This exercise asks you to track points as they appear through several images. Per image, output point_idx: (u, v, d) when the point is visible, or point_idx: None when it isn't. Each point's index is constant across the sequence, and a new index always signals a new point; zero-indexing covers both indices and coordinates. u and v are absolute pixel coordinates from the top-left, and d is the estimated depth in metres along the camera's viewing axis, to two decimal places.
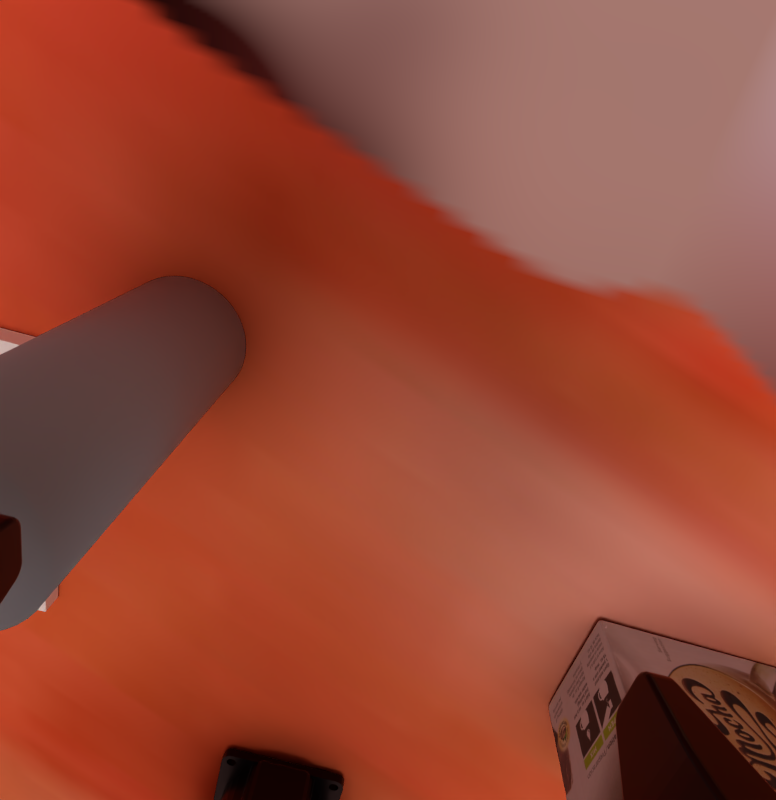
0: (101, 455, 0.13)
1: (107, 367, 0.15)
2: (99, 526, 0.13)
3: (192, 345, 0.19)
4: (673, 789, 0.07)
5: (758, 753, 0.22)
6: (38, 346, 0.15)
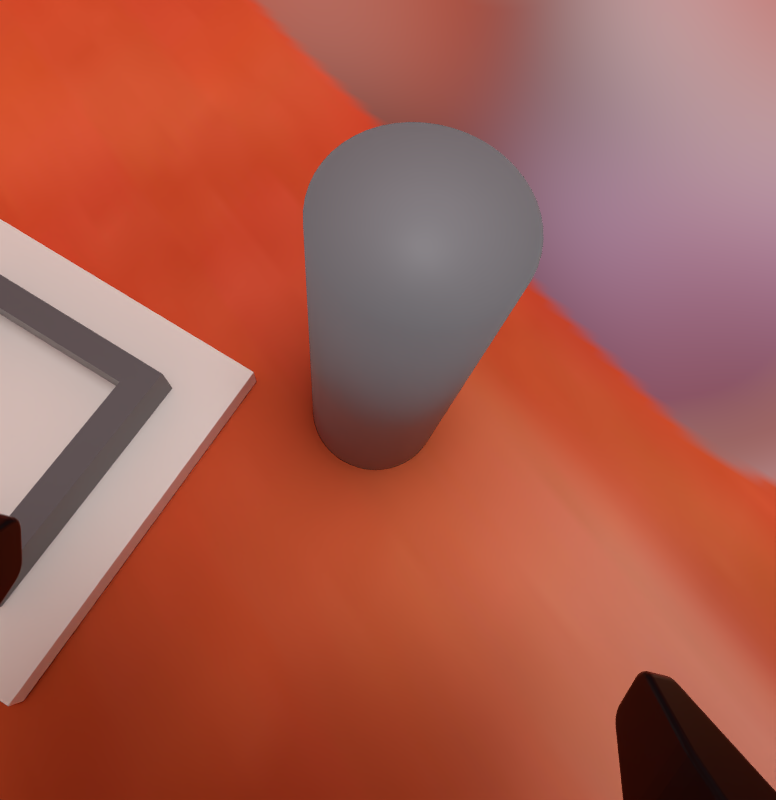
0: None
1: None
2: (498, 330, 0.13)
3: None
4: (673, 789, 0.07)
5: None
6: None
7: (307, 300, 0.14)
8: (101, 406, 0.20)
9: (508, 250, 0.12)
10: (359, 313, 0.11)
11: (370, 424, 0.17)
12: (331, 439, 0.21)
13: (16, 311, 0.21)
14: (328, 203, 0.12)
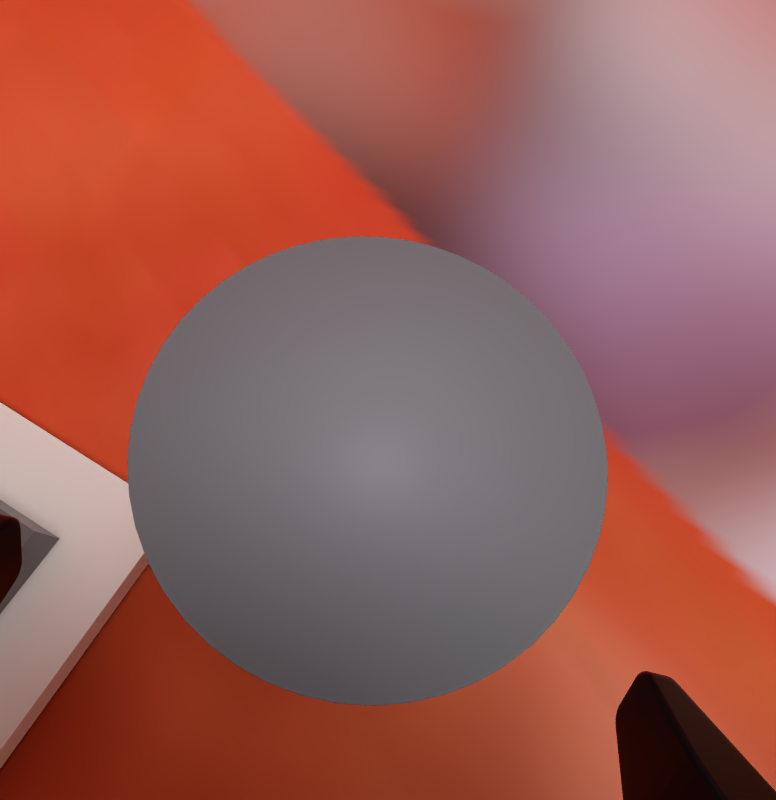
0: None
1: None
2: None
3: None
4: (673, 789, 0.07)
5: None
6: None
7: None
8: None
9: (539, 500, 0.06)
10: (233, 659, 0.05)
11: None
12: None
13: None
14: (183, 411, 0.06)
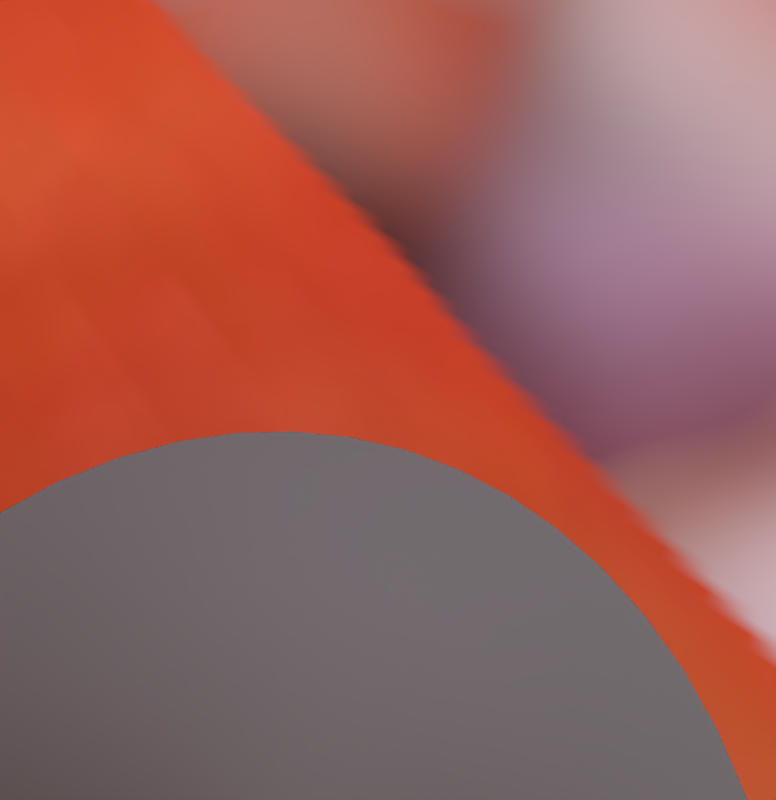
0: None
1: None
2: None
3: None
4: None
5: None
6: None
7: None
8: None
9: None
10: None
11: None
12: None
13: None
14: None
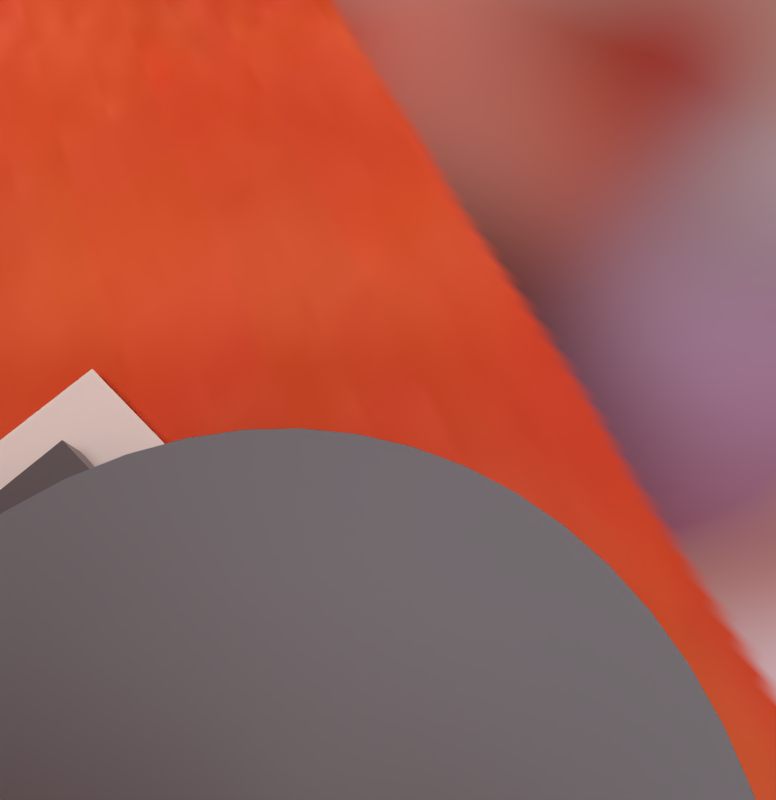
0: None
1: None
2: None
3: None
4: None
5: None
6: None
7: None
8: None
9: None
10: None
11: None
12: None
13: None
14: None
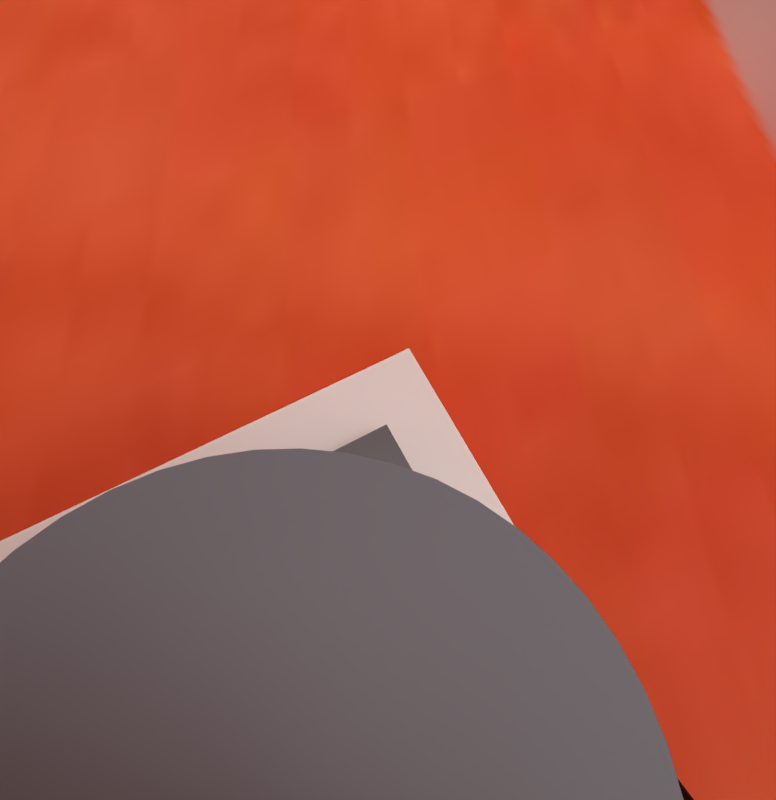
0: None
1: None
2: None
3: None
4: None
5: None
6: None
7: None
8: None
9: None
10: None
11: None
12: None
13: None
14: None
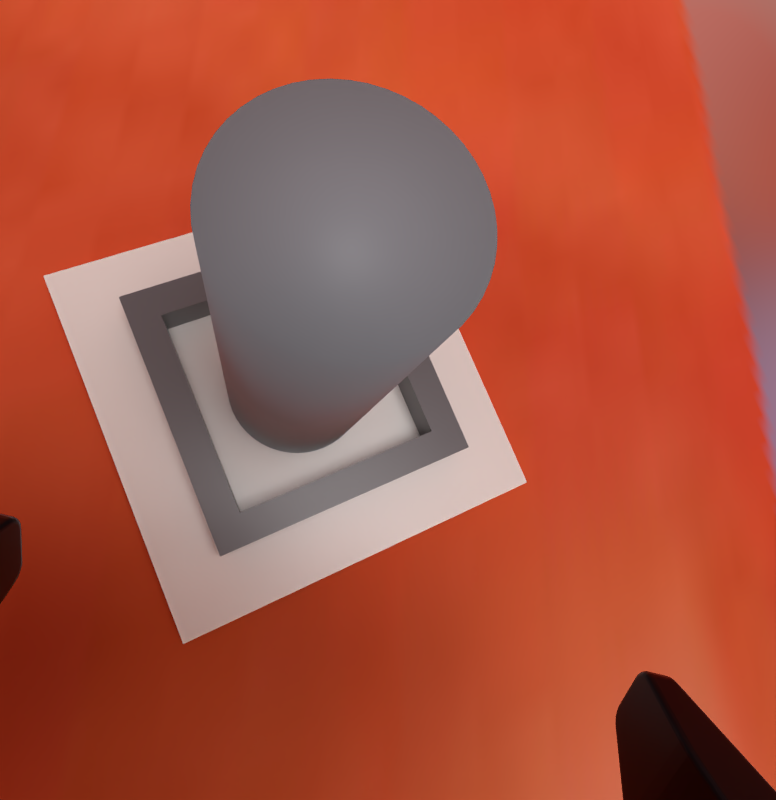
0: None
1: None
2: None
3: None
4: (673, 789, 0.07)
5: None
6: None
7: None
8: (404, 442, 0.20)
9: (450, 270, 0.10)
10: (252, 332, 0.09)
11: (279, 423, 0.15)
12: (241, 419, 0.19)
13: None
14: (228, 178, 0.09)
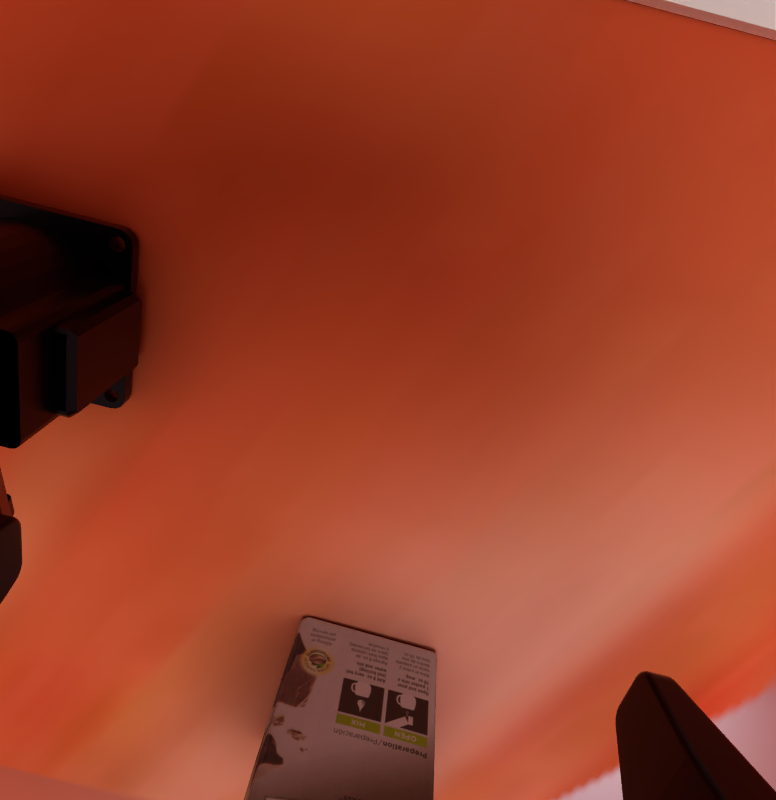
0: None
1: None
2: None
3: None
4: (673, 789, 0.07)
5: None
6: None
7: None
8: None
9: None
10: None
11: None
12: None
13: None
14: None
